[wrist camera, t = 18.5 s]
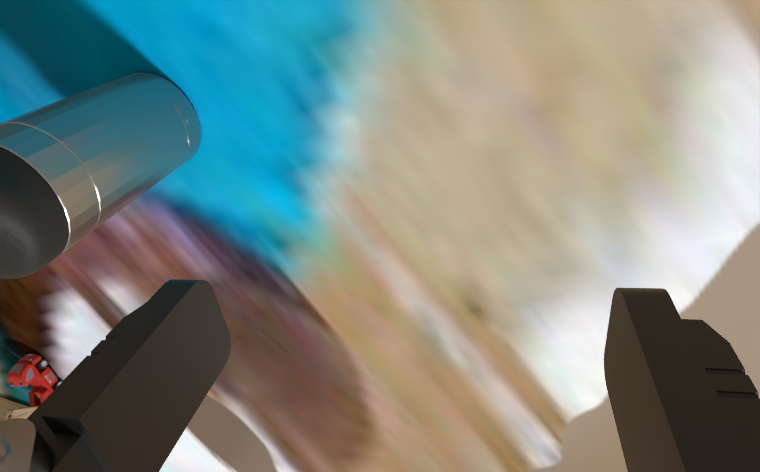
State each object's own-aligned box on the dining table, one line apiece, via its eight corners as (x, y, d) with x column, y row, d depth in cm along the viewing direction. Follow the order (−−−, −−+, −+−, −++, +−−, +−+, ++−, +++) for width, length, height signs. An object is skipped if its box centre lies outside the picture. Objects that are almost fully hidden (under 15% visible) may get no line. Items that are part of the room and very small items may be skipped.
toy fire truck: (40, 350, 72) (-17, 403, 64) (88, 412, 78) (41, 467, 70) (24, 351, 73) (-35, 403, 65) (72, 412, 79) (24, 466, 71)
